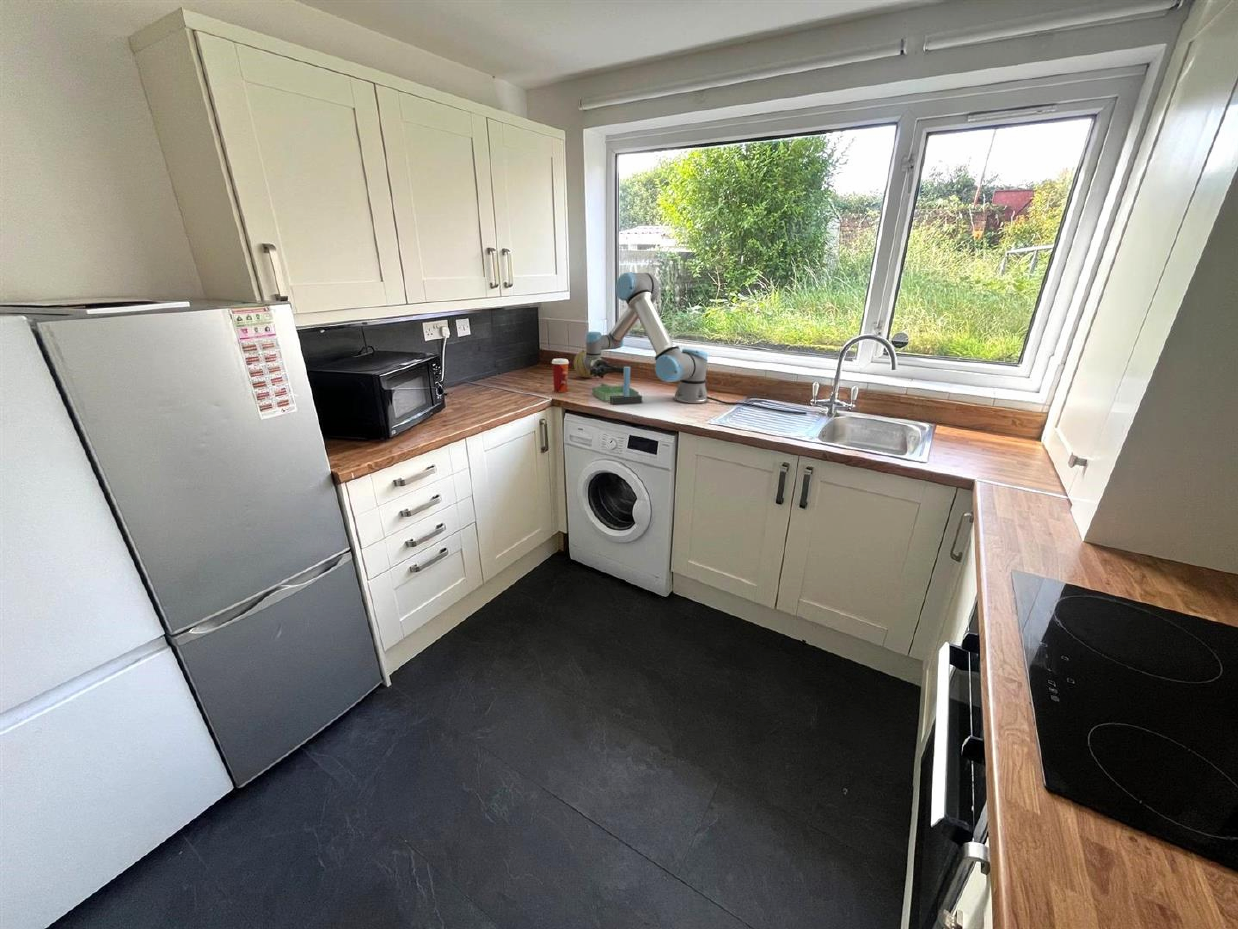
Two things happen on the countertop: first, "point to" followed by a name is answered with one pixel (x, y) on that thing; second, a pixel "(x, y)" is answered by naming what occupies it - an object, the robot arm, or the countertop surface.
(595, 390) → the green tray
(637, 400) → the wiper
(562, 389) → the coffee cup
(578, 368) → the cantaloupe
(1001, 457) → the countertop surface
